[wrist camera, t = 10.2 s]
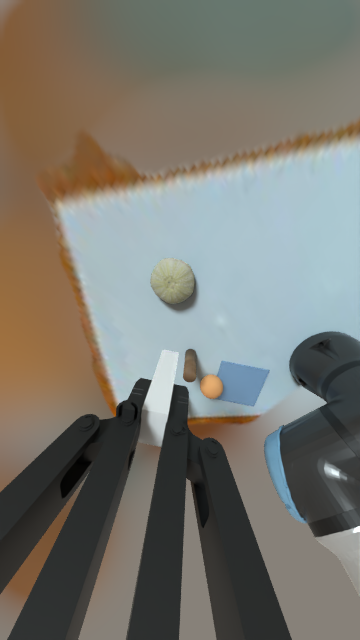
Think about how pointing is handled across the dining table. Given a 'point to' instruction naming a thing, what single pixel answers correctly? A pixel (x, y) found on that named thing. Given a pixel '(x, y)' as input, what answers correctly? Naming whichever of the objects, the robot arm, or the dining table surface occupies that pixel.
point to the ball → (211, 386)
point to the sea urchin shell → (172, 280)
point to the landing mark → (241, 383)
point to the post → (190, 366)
